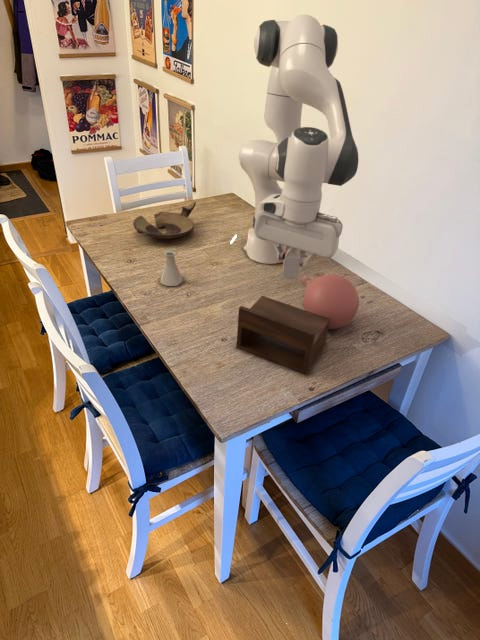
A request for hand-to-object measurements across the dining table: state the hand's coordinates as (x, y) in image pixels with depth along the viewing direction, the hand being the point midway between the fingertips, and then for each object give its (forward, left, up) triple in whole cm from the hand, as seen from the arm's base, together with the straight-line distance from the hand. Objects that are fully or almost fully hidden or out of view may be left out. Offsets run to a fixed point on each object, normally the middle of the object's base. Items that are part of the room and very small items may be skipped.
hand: (291, 262), depth 106 cm
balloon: (-16, +6, -25) cm, 30 cm away
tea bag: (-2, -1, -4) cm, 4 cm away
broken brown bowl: (-38, -64, -25) cm, 78 cm away
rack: (+2, +1, -25) cm, 25 cm away
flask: (-9, -43, -25) cm, 50 cm away
